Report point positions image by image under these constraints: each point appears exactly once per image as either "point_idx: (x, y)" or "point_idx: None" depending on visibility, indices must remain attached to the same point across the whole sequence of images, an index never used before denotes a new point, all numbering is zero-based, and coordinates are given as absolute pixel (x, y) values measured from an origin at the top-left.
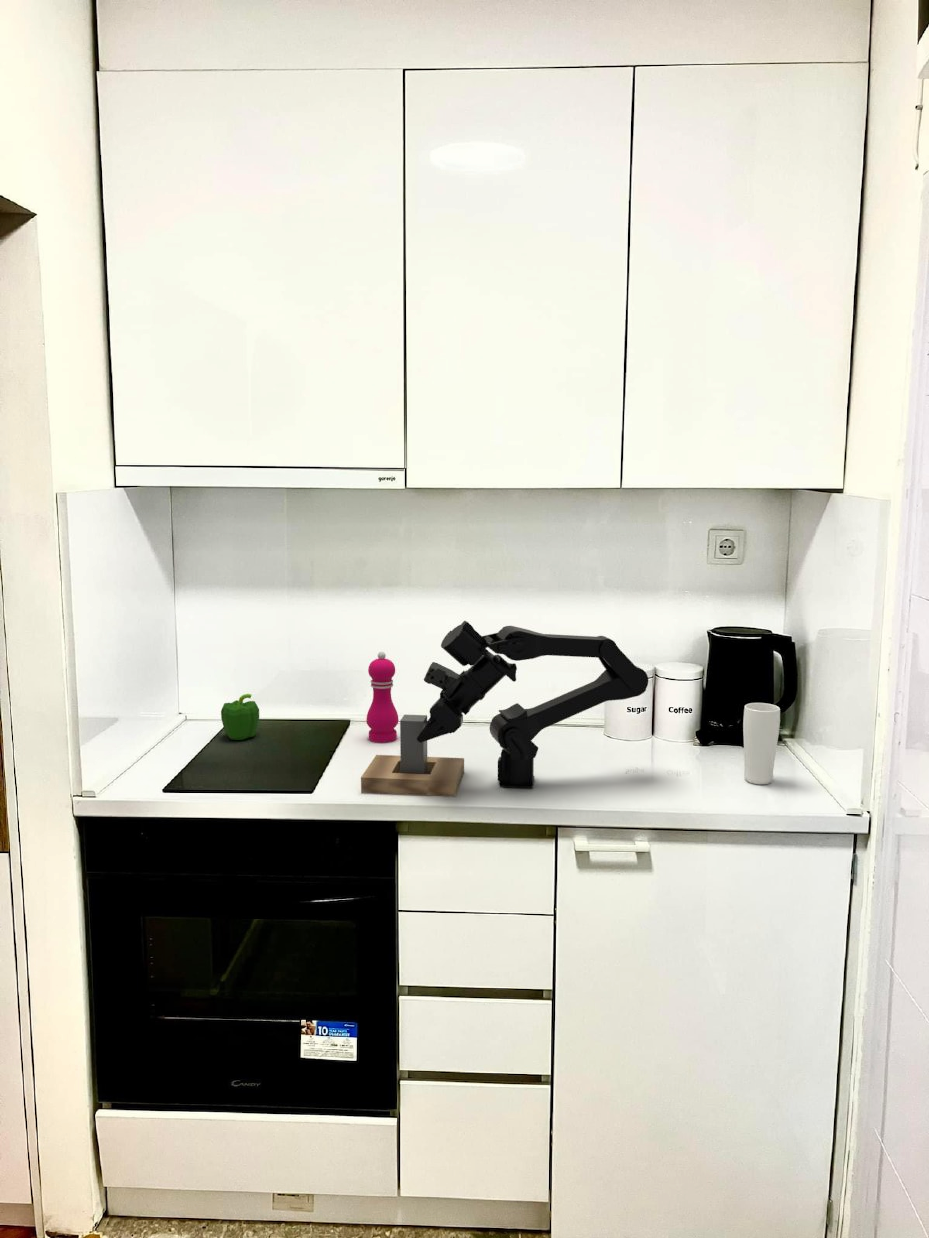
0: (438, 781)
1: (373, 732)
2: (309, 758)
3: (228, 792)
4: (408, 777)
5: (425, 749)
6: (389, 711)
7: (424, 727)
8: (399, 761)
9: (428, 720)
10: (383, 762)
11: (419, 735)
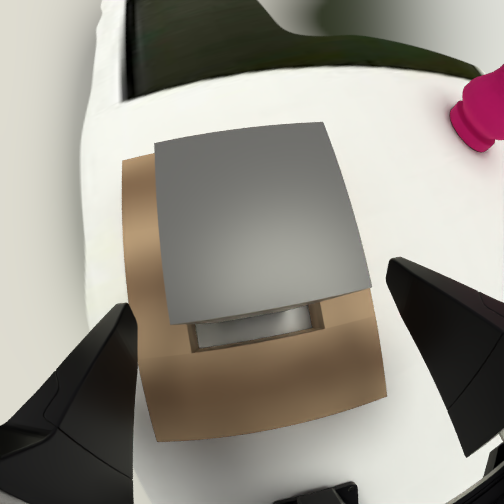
0: (145, 392)
1: (461, 107)
2: (316, 42)
3: (125, 27)
4: (144, 291)
5: (258, 314)
6: (502, 109)
7: (62, 364)
8: None
9: (410, 275)
10: None
11: (100, 323)
